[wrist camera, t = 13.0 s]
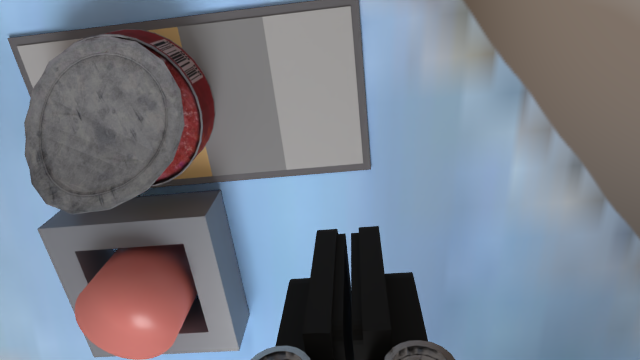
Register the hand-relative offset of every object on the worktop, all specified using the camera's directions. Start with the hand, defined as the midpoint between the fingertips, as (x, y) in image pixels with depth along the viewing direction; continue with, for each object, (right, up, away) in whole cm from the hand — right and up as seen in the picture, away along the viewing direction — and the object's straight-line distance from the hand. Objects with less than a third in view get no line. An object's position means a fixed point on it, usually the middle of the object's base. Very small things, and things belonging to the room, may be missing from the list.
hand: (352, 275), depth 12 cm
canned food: (-13, +8, +18) cm, 24 cm away
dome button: (-14, -4, +23) cm, 27 cm away
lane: (-9, +8, +18) cm, 22 cm away
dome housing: (-14, -4, +24) cm, 28 cm away
